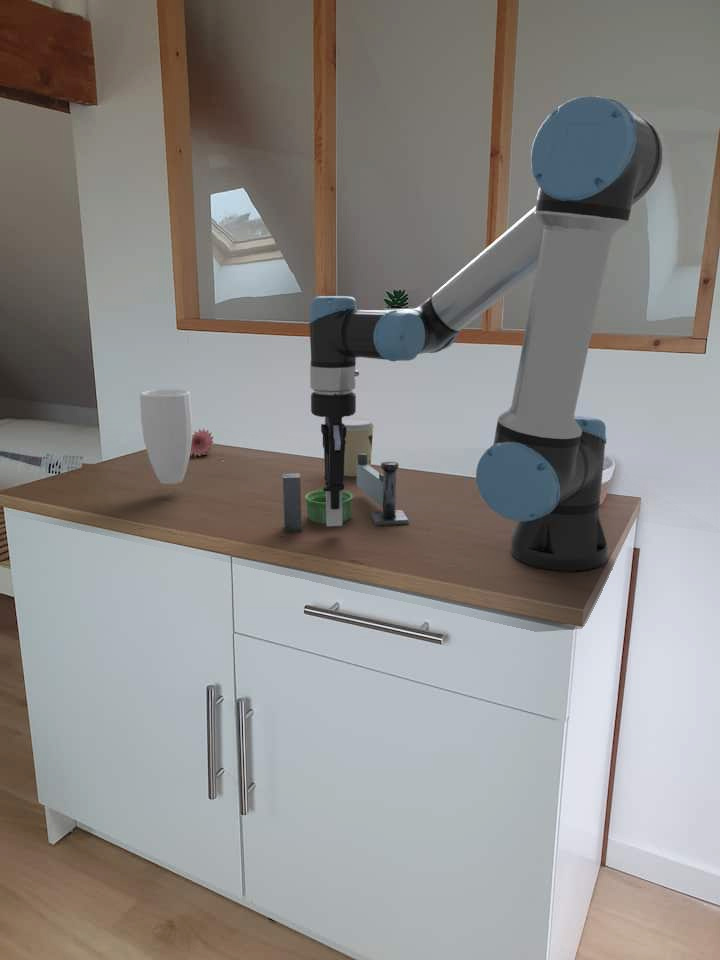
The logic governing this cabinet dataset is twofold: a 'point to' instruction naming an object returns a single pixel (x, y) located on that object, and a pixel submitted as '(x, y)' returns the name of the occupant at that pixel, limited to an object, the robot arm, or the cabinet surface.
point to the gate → (369, 479)
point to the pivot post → (389, 498)
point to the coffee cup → (357, 443)
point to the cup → (167, 432)
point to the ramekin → (318, 506)
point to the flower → (201, 443)
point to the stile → (292, 502)
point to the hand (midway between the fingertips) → (334, 524)
